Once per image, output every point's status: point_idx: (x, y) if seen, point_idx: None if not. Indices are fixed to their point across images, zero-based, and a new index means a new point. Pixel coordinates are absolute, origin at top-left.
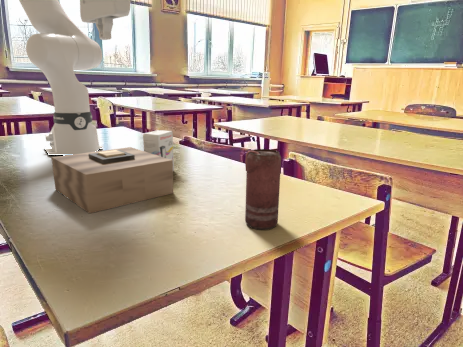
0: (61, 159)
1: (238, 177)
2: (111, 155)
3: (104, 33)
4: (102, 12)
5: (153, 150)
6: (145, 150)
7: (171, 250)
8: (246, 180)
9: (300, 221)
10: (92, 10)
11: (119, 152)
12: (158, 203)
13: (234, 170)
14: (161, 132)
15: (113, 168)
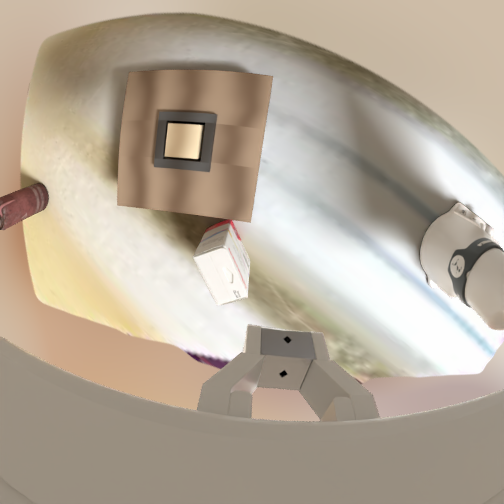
0: (242, 79)
1: (142, 297)
2: (167, 132)
3: (246, 343)
4: (147, 425)
5: (207, 240)
6: (223, 234)
7: (49, 110)
8: (19, 196)
9: (33, 223)
10: (396, 473)
11: (174, 152)
12: None
13: (170, 319)
14: (215, 281)
15: (129, 112)
